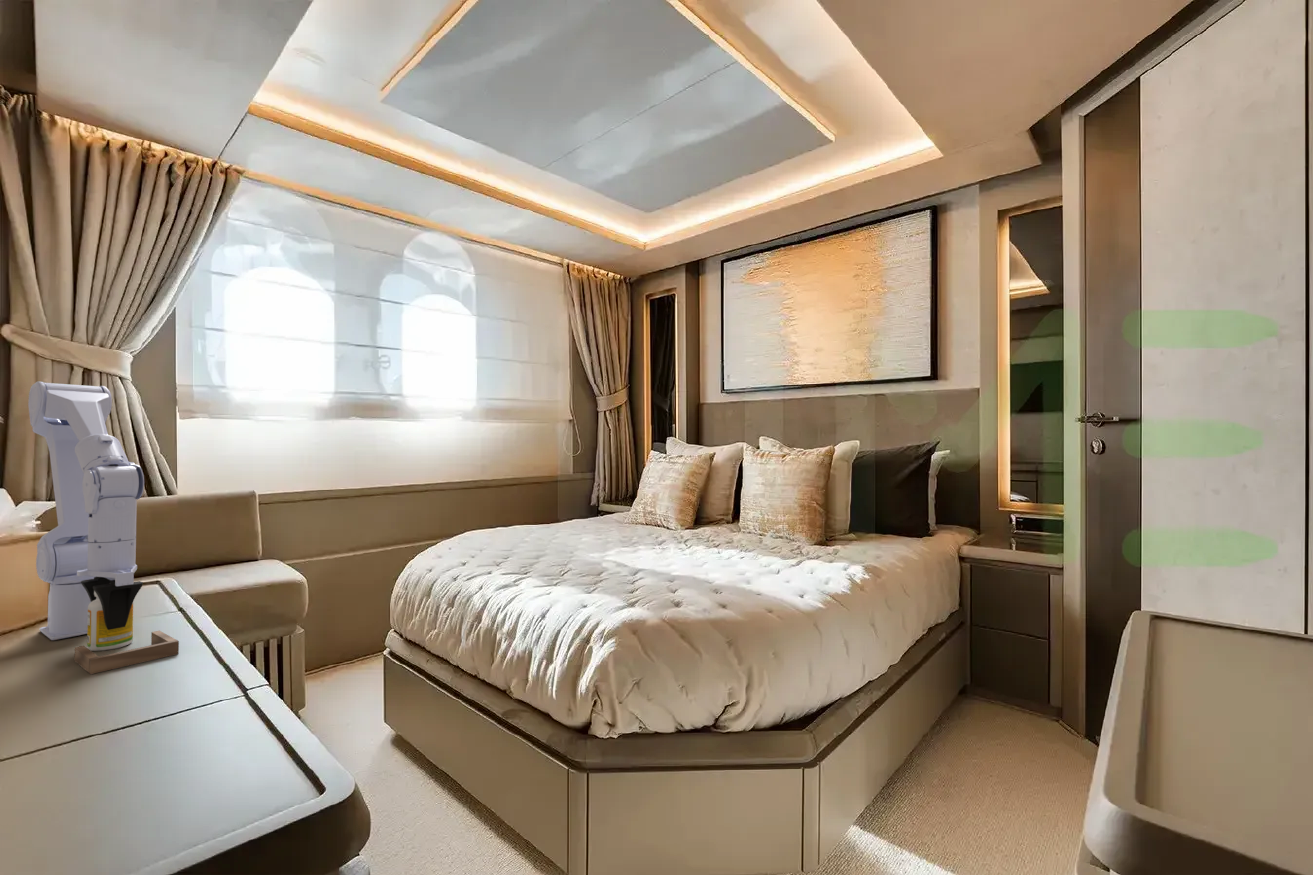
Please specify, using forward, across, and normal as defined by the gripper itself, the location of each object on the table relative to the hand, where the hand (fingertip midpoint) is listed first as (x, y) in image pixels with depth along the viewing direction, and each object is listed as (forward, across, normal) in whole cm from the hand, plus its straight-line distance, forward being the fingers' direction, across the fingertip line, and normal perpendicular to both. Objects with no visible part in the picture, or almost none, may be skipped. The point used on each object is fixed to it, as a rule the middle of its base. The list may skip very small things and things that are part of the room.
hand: (110, 624), depth 95 cm
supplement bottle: (+4, 0, 0) cm, 4 cm away
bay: (+3, +8, 0) cm, 9 cm away
